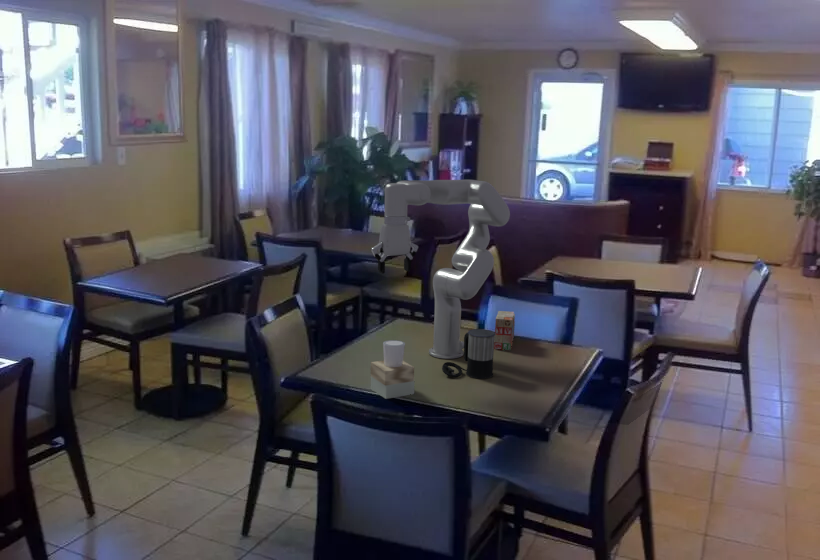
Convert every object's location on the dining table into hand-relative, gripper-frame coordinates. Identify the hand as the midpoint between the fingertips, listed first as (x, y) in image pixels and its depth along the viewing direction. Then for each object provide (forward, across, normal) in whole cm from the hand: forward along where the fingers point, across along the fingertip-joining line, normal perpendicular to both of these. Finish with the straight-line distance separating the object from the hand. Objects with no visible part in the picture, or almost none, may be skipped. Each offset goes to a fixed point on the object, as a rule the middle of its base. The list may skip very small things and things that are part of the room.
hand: (394, 271), depth 265 cm
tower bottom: (+34, +12, +22) cm, 42 cm away
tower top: (+29, +12, +22) cm, 38 cm away
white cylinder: (+25, +11, +22) cm, 35 cm away
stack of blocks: (+34, -54, -8) cm, 64 cm away
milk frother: (+34, -19, +18) cm, 43 cm away
